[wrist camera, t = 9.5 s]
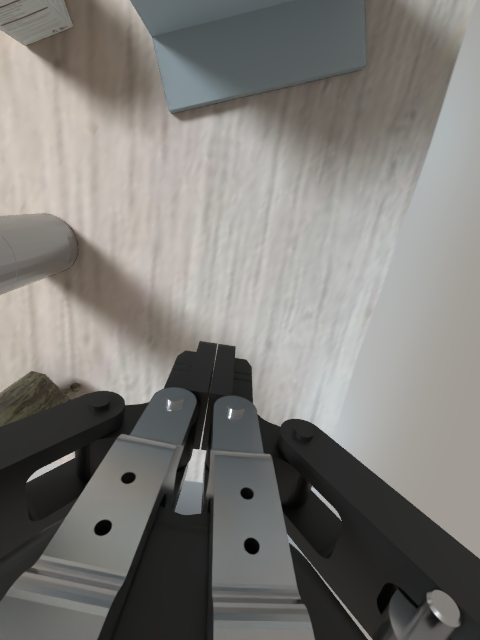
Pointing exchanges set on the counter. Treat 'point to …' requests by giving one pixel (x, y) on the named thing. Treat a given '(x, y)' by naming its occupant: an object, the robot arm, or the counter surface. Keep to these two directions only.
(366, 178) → the counter surface
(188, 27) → the bookend
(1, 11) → the supplement box
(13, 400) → the tabletop clock
